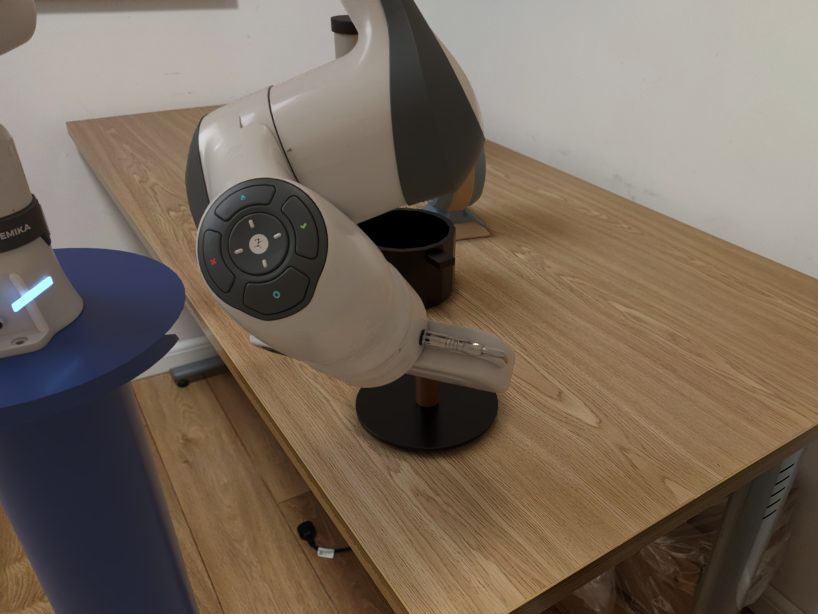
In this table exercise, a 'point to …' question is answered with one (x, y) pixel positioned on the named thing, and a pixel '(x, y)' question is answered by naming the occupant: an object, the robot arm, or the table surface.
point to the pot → (417, 249)
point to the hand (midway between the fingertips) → (413, 362)
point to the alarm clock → (463, 203)
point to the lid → (425, 413)
